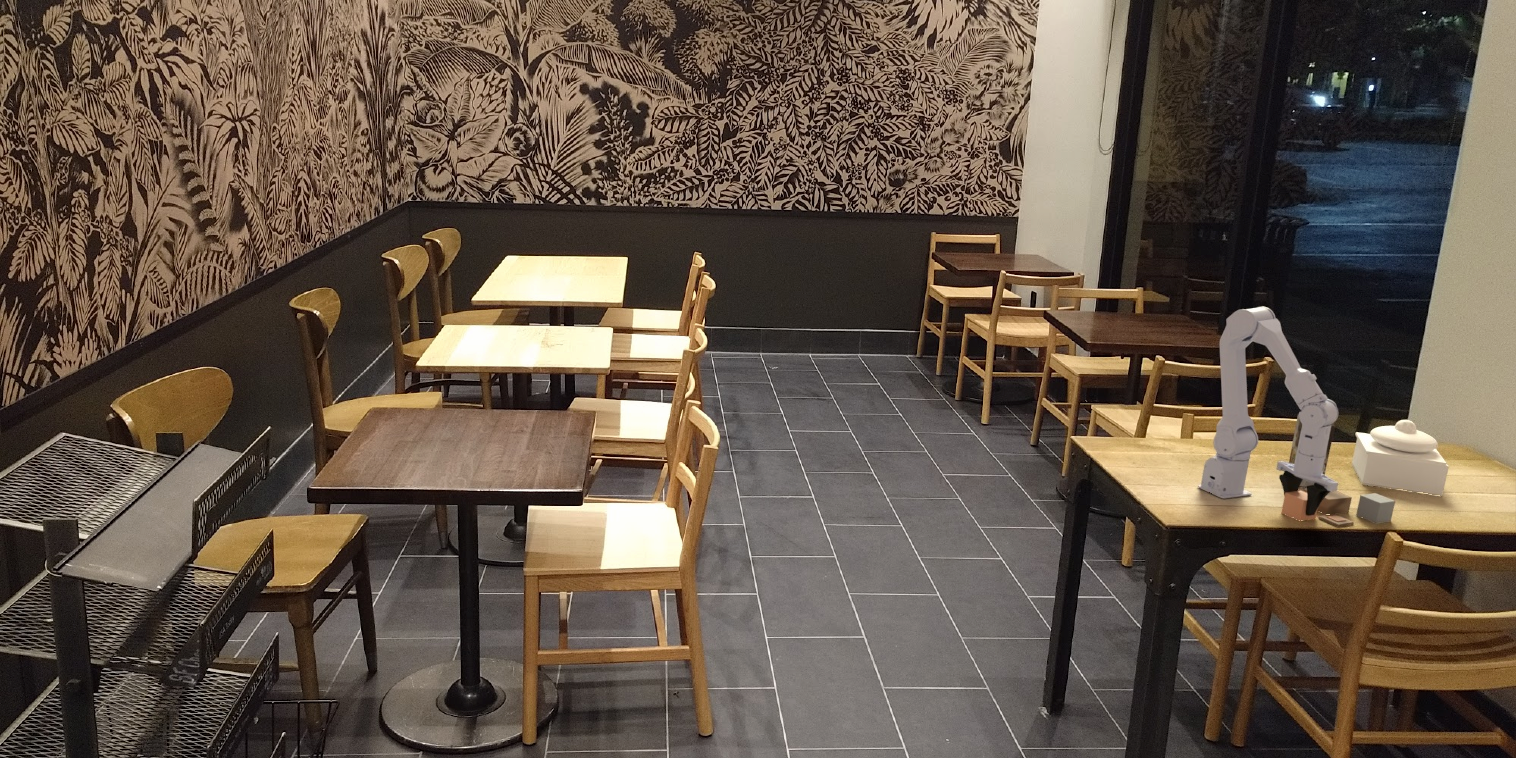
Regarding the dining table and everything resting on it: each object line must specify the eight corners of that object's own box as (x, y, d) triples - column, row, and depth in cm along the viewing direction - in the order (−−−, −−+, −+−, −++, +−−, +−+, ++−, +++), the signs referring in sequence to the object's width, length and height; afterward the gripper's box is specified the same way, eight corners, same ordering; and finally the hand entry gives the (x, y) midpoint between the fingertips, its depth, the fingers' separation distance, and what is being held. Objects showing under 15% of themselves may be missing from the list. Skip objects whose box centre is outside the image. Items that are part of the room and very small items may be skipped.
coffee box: (1323, 489, 271) (1336, 426, 267) (1294, 486, 272) (1307, 422, 268) (1312, 477, 280) (1325, 415, 275) (1285, 473, 281) (1297, 412, 276)
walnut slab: (1325, 515, 254) (1328, 499, 253) (1301, 504, 260) (1304, 488, 259) (1348, 513, 256) (1351, 497, 255) (1323, 502, 263) (1327, 486, 262)
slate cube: (1375, 523, 250) (1380, 503, 249) (1356, 515, 255) (1360, 495, 253) (1390, 521, 252) (1395, 500, 251) (1370, 513, 257) (1375, 493, 256)
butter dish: (1441, 498, 271) (1456, 435, 267) (1359, 484, 276) (1372, 423, 272) (1426, 475, 287) (1440, 416, 283) (1349, 464, 293) (1361, 406, 288)
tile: (1337, 527, 247) (1338, 523, 247) (1318, 518, 251) (1319, 515, 251) (1353, 524, 249) (1354, 521, 249) (1334, 516, 253) (1334, 512, 253)
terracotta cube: (1299, 521, 249) (1303, 500, 247) (1281, 513, 253) (1285, 492, 252) (1315, 519, 251) (1319, 498, 249) (1296, 511, 255) (1301, 490, 254)
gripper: (1352, 462, 243) (1339, 520, 247) (1296, 441, 256) (1285, 497, 259) (1329, 465, 240) (1317, 523, 244) (1274, 443, 253) (1263, 500, 256)
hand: (1299, 510), depth 251 cm, fingers closed on terracotta cube, 5 cm apart
